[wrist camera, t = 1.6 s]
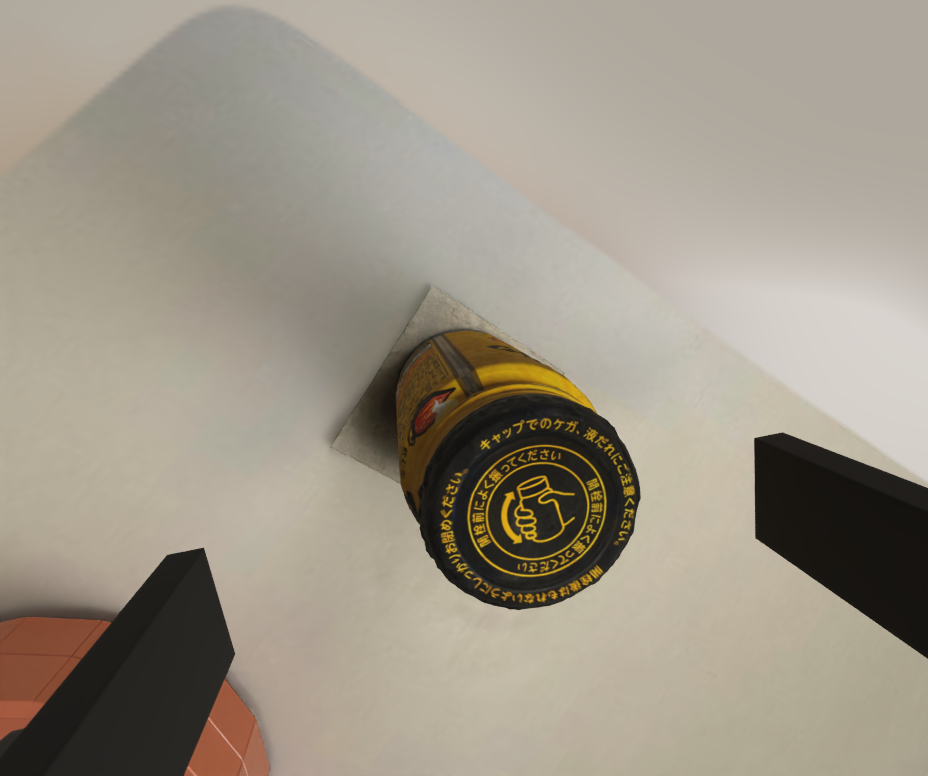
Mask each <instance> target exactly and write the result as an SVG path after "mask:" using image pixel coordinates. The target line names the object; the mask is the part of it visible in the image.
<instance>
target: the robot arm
mask: <svg viewBox="0 0 928 776" xmlns="http://www.w3.org/2000/svg"><path fill="white" fill-rule="evenodd" d="M754 451H755V536H756V539H758V540H759V541H760V542H762V543H763V544H765V545H766V546H768V547H769V548H770V549H772V550H773V551H775V552H776V553H778V554H779V555H780V556H782V557H783V558H785V559H786V560H788V561H789V562H790V563H792V564H793V565H795V566H796V567H798V568H799V569H800V570H802V571H803V572H805V573H806V574H808V575H809V576H810V577H812V578H813V579H815V580H816V581H818V582H819V583H820V584H822V585H823V586H825V587H826V588H828V589H829V590H830V591H832V592H833V593H835V594H836V595H838V596H839V597H840V598H842V599H843V600H845V601H846V602H848V603H849V604H850V605H852V606H853V607H855V608H856V609H858V610H859V611H860V612H862V613H863V614H865V615H866V616H868V617H869V618H870V619H872V620H873V621H875V622H876V623H878V624H879V625H880V626H882V627H883V628H885V629H886V630H888V631H889V632H890V633H892V634H893V635H895V636H896V637H898V638H899V639H900V640H902V641H903V642H905V643H906V644H908V645H909V646H910V647H912V648H913V649H915V650H916V651H918V652H919V653H920V654H922V655H923V656H925V657H926V658H928V488H926V487H924V486H921V485H918V484H916V483H913V482H911V481H908V480H905V479H903V478H900V477H898V476H895V475H892V474H890V473H887V472H884V471H882V470H879V469H877V468H874V467H871V466H869V465H866V464H864V463H861V462H858V461H856V460H853V459H850V458H848V457H845V456H843V455H840V454H837V453H835V452H832V451H830V450H827V449H824V448H822V447H819V446H816V445H814V444H811V443H809V442H806V441H803V440H801V439H798V438H796V437H793V436H790V435H788V434H785V433H778V434H773V435H768V436H763V437H758V438H754ZM234 656H235V652H234V648H233V645H232V642H231V638H230V635H229V632H228V628H227V625H226V621H225V618H224V615H223V611H222V608H221V604H220V601H219V598H218V594H217V591H216V587H215V584H214V581H213V577H212V574H211V570H210V567H209V564H208V560H207V557H206V554H205V550H204V548H200V549H195V550H190V551H185V552H180V553H175V554H170V555H167V556H166V557H165V558H164V560H163V561H162V562H161V563H160V564H159V566H158V567H157V568H156V569H155V570H154V572H153V573H152V574H151V575H150V577H149V578H148V579H147V580H146V581H145V583H144V584H143V585H142V586H141V587H140V589H139V590H138V591H137V592H136V594H135V595H134V596H133V597H132V598H131V600H130V601H129V602H128V603H127V604H126V606H125V607H124V608H123V609H122V611H121V612H120V613H119V614H118V615H117V617H116V618H115V619H114V620H113V621H112V623H111V624H110V625H109V626H108V628H107V629H106V630H105V631H104V632H103V634H102V635H101V636H100V637H99V638H98V640H97V641H96V642H95V643H94V645H93V646H92V647H91V648H90V649H89V651H88V652H87V653H86V654H85V655H84V657H83V658H82V659H81V660H80V662H79V663H78V664H77V665H76V666H75V668H74V669H73V670H72V671H71V672H70V674H69V675H68V676H67V677H66V679H65V680H64V681H63V682H62V683H61V685H60V686H59V687H58V688H57V689H56V691H55V692H54V693H53V694H52V696H51V697H50V698H49V699H48V700H47V702H46V703H45V704H44V705H43V706H42V708H41V709H40V710H39V711H38V713H37V714H36V715H35V716H34V717H33V719H32V720H31V721H30V722H29V723H28V725H27V726H26V727H25V728H23V729H19V730H14V731H11V732H10V733H9V734H7V735H6V736H5V737H4V738H3V739H1V740H0V776H184V774H185V772H186V770H187V767H188V765H189V763H190V760H191V758H192V755H193V753H194V751H195V748H196V746H197V744H198V741H199V739H200V736H201V734H202V732H203V729H204V727H205V725H206V722H207V720H208V717H209V715H210V713H211V710H212V708H213V706H214V703H215V701H216V698H217V696H218V694H219V691H220V689H221V687H222V684H223V682H224V679H225V677H226V675H227V672H228V670H229V667H230V665H231V663H232V660H233V658H234Z"/></svg>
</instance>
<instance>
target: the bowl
mask: <svg viewBox="0 0 928 776" xmlns="http://www.w3.org/2000/svg"><path fill="white" fill-rule="evenodd" d="M110 624H111V622H108V621H104V620H103V621H102V620H90V619H70V618H50V617H23V618H18V619H13V620H8V621H3V622H0V740H1V739H3V738H4V737H5V736H6V735H7V734H9V733H10V732H11V731H14V730H19V729H23V728H25V727H26V726H27V725H28V723H29V722H30V721H31V720H32V719H33V717H34V716H35V715H36V714H37V713H38V711H39V710H40V709H41V708H42V706H43V705H44V704H45V703H46V702H47V700H48V699H49V698H50V697H51V696H52V694H53V693H54V692H55V691H56V689H57V688H58V687H59V686H60V685H61V683H62V682H63V681H64V680H65V679H66V677H67V676H68V675H69V674H70V672H71V671H72V670H73V669H74V668H75V666H76V665H77V664H78V663H79V662H80V660H81V659H82V658H83V657H84V655H85V654H86V653H87V652H88V651H89V649H90V648H91V647H92V646H93V645H94V643H95V642H96V641H97V640H98V638H99V637H100V636H101V635H102V634H103V632H104V631H105V630H106V629H107V628H108V626H109V625H110ZM269 773H270V764H269V760H268V757H267V754H266V750H265V747H264V744H263V740H262V737H261V734H260V730H259V727H258V724H257V720H256V719H255V716H254V715H253V714H252V713H251V711H250V710H249V709H248V708H247V706H246V705H245V704H244V703H243V701H242V700H241V699H240V697H239V696H238V695H237V694H236V692H235V691H234V690H233V689H232V687H231V686H230V685H229V684H228V682H227V681H226V680H225V679H224V682H223V684H222V687H221V689H220V691H219V694H218V696H217V698H216V701H215V703H214V706H213V708H212V710H211V713H210V715H209V717H208V720H207V722H206V725H205V727H204V729H203V732H202V734H201V736H200V739H199V741H198V744H197V746H196V748H195V751H194V753H193V755H192V758H191V760H190V763H189V765H188V767H187V770H186V772H185V774H184V776H269Z"/></svg>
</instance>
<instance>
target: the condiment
mask: <svg viewBox="0 0 928 776" xmlns="http://www.w3.org/2000/svg"><path fill="white" fill-rule="evenodd" d="M331 448H333V449H335V450H337V451H339V452H340V453H342V454H344V455H347V456H349V457H351V458H353V459H355V460H357V461H358V462H360V463H362V464H364V465H366V466H368V467H370V468H372V469H373V470H375V471H377V472H379V473H381V474H383V475H385V476H387V477H389V478H391V479H392V480H394V481H396V482H398V483H400V484H401V487H402V490H403V492H404V496H405V499H406V502H407V504H408V506H409V509H410V510H411V511H412V513H413V515H414V517H415V518H416V520H417V522H418V523H419V524H420V531H421V536H422V538H423V540H424V541H425V546H426V551H427V552H428V553H429V555H430V557H431V558H433V559H434V560H435V563H436V565H437V568H438V569H440V570H441V571H442V573H443V574H444V576H445V577H446V578H447V579H448V580H449V581H450V582H451V583H453V584H454V585H456V586H457V587H458V588H459V589H461V590H462V591H463V592H465V593H467V594H469V595H471V596H473V597H475V598H477V599H478V600H480V601H482V602H484V603H487V604H491V605H494V606H498V607H505V608H508V609H516V610H521V609H528V608H537V607H543V606H550V605H553V604H556V603H559V602H561V601H564V600H565V599H567V598H570V597H572V596H574V595H575V594H577V593H579V592H580V591H582V590H584V589H585V588H587V587H588V586H590V585H592V584H595V583H596V582H597V581H599V579H600V578H601V577H602V576H603V575H604V574H605V573H606V572H607V571H608V570H609V569H610V567H611V566H612V565H613V564H614V563H615V561H616V560H617V559H618V558H619V556H620V554H621V552H622V551H623V549H624V548H625V546H626V545H627V543H628V541H629V539H630V537H631V535H632V534H633V531H634V524H635V517H636V512H637V508H638V504H639V501H640V486H639V480H638V476H637V472H636V469H635V467H634V464H633V462H632V460H631V457H630V455H629V453H628V450H627V448H626V446H625V445H624V443H623V442H622V441H621V440H620V438H619V437H618V434H617V432H616V430H615V428H614V427H613V426H612V425H611V424H610V423H609V422H608V421H607V420H606V419H604V418H603V417H601V416H599V415H598V414H597V413H596V411H595V409H594V407H593V405H592V404H591V402H590V401H589V400H588V398H587V397H586V396H585V395H584V394H583V393H582V392H581V391H580V390H579V389H578V388H577V387H576V386H575V385H574V384H572V383H571V382H570V381H569V380H568V379H567V378H566V377H565V376H564V373H563V372H561V371H560V370H558V369H557V368H555V367H554V366H552V365H551V364H549V363H548V362H547V361H545V360H544V359H542V358H540V357H539V356H538V355H536V354H535V353H533V352H531V351H530V350H529V349H527V348H526V347H524V346H523V345H521V344H520V343H518V342H517V341H515V340H514V339H512V338H511V337H509V336H508V335H506V334H505V333H503V332H502V331H500V330H499V329H497V328H496V327H494V326H493V325H491V324H490V323H488V322H487V321H485V320H484V319H482V318H481V317H479V316H478V315H476V314H475V313H473V312H472V311H470V310H469V309H468V308H466V307H464V306H463V305H462V304H460V303H459V302H457V301H456V300H454V299H453V298H451V297H450V296H448V295H447V294H445V293H444V292H442V291H441V290H439V289H438V288H436V287H435V286H432V288H431V290H430V291H429V293H428V294H427V296H426V297H425V299H424V301H423V302H422V304H421V305H420V307H419V308H418V310H417V311H416V313H415V315H414V316H413V318H412V319H411V321H410V322H409V324H408V326H407V327H406V329H405V330H404V332H403V333H402V335H401V337H400V338H399V340H398V341H397V343H396V344H395V346H394V348H393V349H392V351H391V352H390V354H389V355H388V357H387V359H386V360H385V362H384V363H383V365H382V367H381V368H380V369H379V371H378V373H377V375H376V376H375V378H374V380H373V381H372V383H371V384H370V386H369V388H368V389H367V390H366V392H365V394H364V395H363V397H362V398H361V400H360V401H359V403H358V405H357V406H356V408H355V409H354V410H353V412H352V414H351V416H350V417H349V419H348V420H347V422H346V424H345V425H344V427H343V429H342V430H341V432H340V433H339V435H338V436H337V438H336V439H335V441H334V443H333V444H332V446H331Z"/></svg>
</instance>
